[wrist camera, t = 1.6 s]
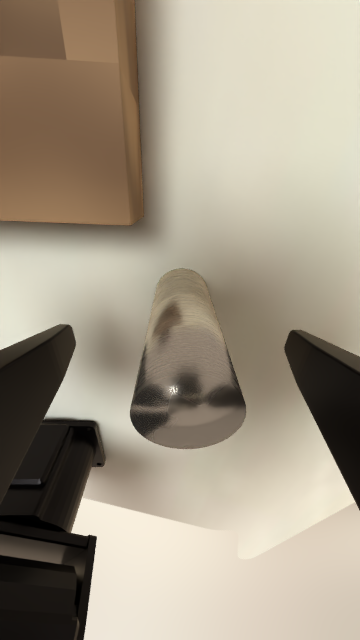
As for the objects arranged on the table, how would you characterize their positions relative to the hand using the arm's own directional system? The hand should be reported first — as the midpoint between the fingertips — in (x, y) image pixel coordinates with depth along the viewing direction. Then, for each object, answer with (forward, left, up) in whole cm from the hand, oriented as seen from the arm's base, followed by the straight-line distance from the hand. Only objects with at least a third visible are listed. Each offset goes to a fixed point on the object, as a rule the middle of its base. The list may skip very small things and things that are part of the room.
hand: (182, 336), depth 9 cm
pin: (0, 0, -4) cm, 4 cm away
